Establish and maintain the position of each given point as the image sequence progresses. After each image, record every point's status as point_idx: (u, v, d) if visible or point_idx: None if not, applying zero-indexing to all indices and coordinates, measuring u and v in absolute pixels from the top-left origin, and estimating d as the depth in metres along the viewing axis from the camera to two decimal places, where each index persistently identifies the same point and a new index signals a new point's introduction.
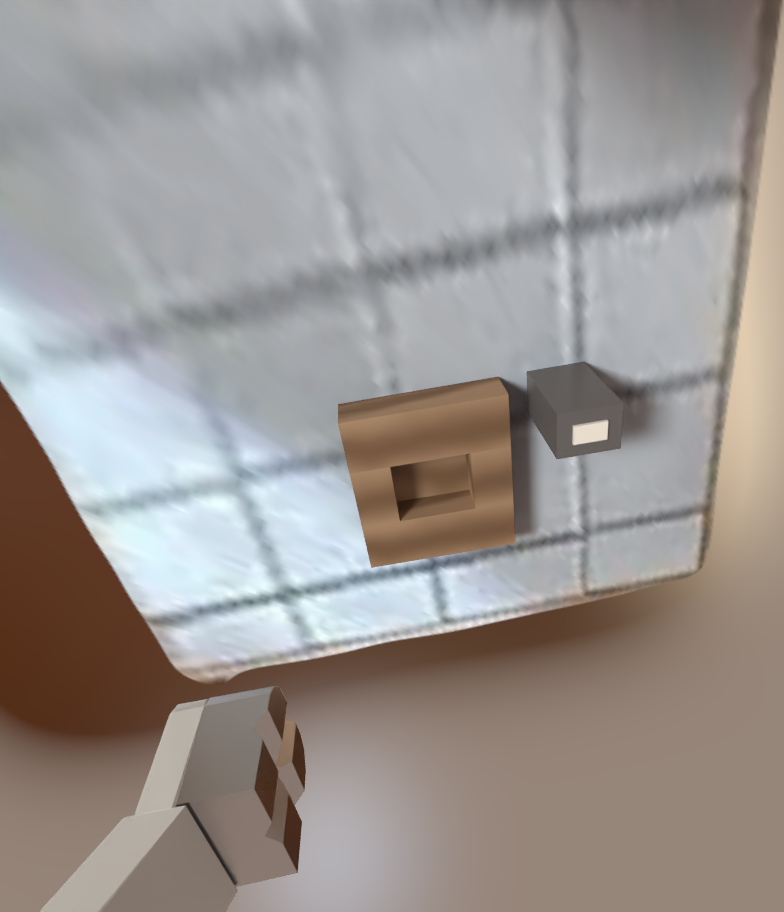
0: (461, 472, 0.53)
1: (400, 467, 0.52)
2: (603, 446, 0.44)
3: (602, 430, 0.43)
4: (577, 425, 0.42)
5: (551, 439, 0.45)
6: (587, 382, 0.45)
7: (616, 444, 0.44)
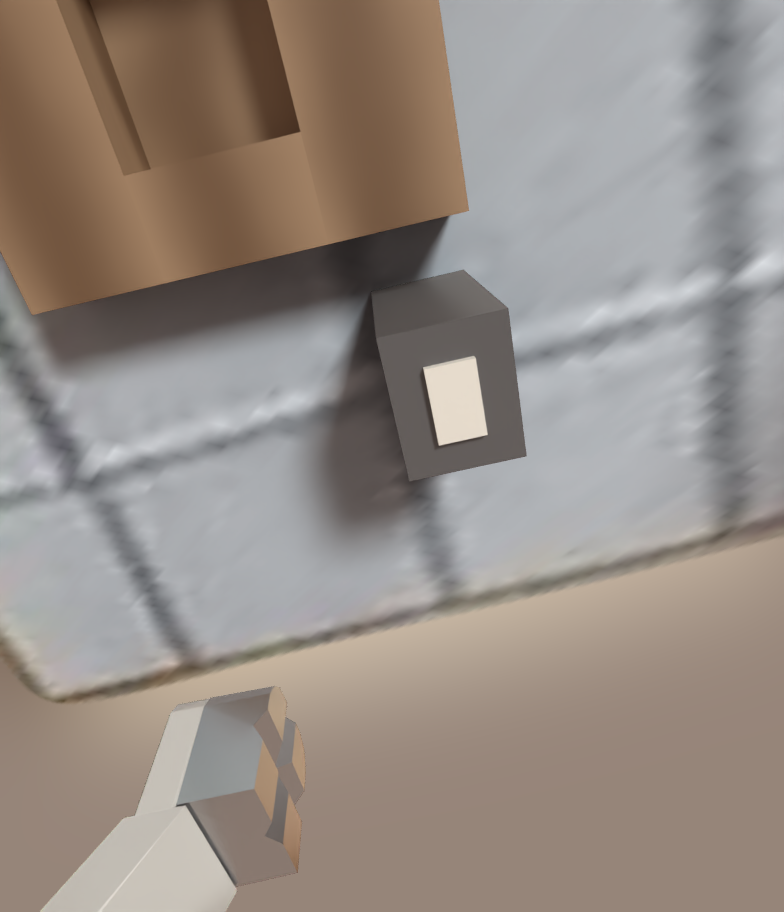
0: (202, 146, 0.21)
1: None
2: (414, 443, 0.18)
3: (464, 428, 0.18)
4: (476, 366, 0.17)
5: (406, 320, 0.18)
6: None
7: (420, 470, 0.19)
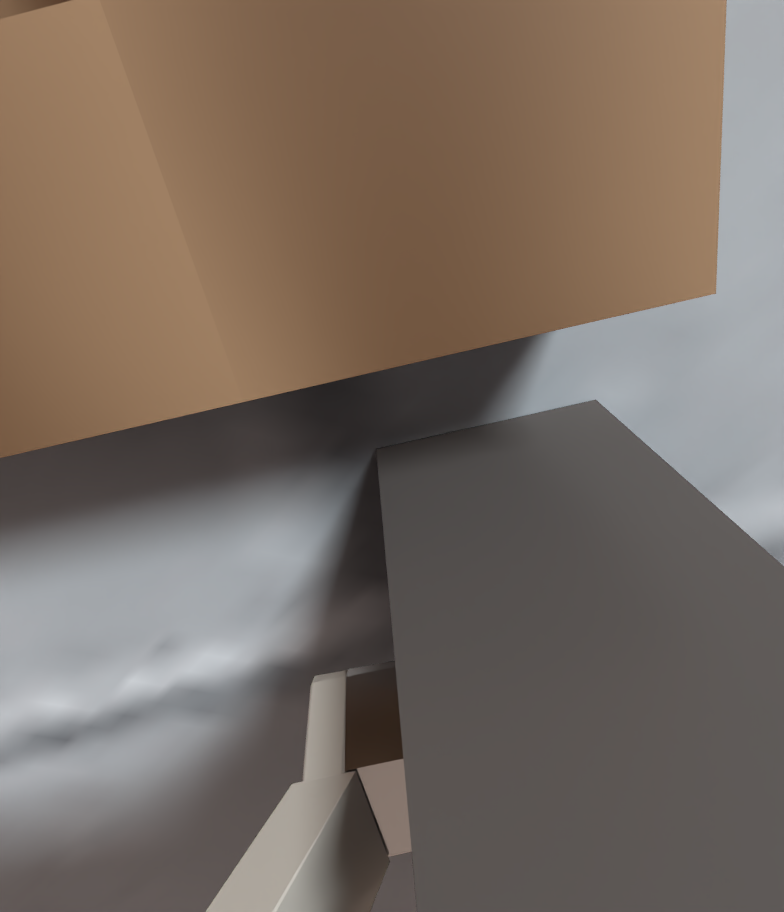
0: None
1: None
2: None
3: None
4: None
5: (549, 805, 0.04)
6: None
7: None
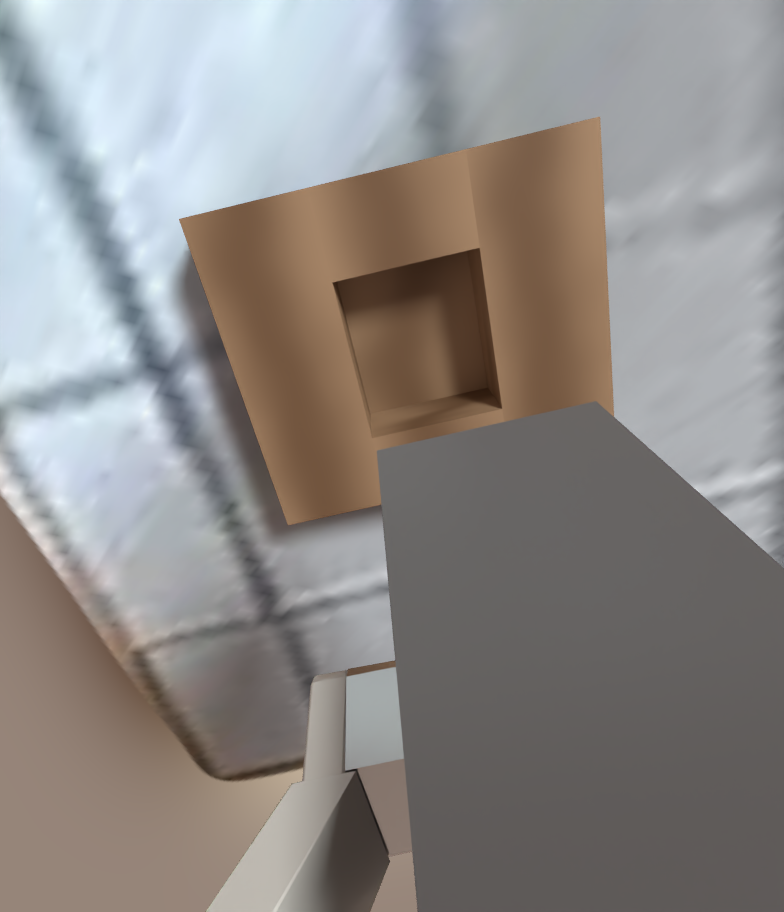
0: (409, 394, 0.28)
1: (421, 271, 0.26)
2: None
3: None
4: None
5: (549, 808, 0.04)
6: None
7: None
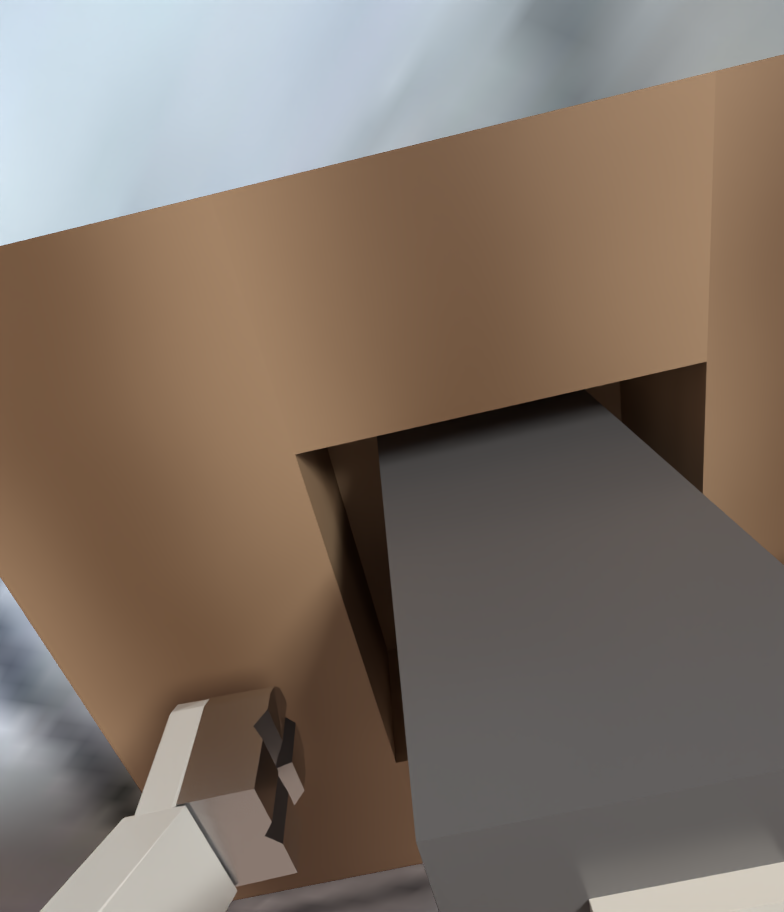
0: None
1: None
2: None
3: None
4: None
5: (511, 673, 0.05)
6: None
7: None
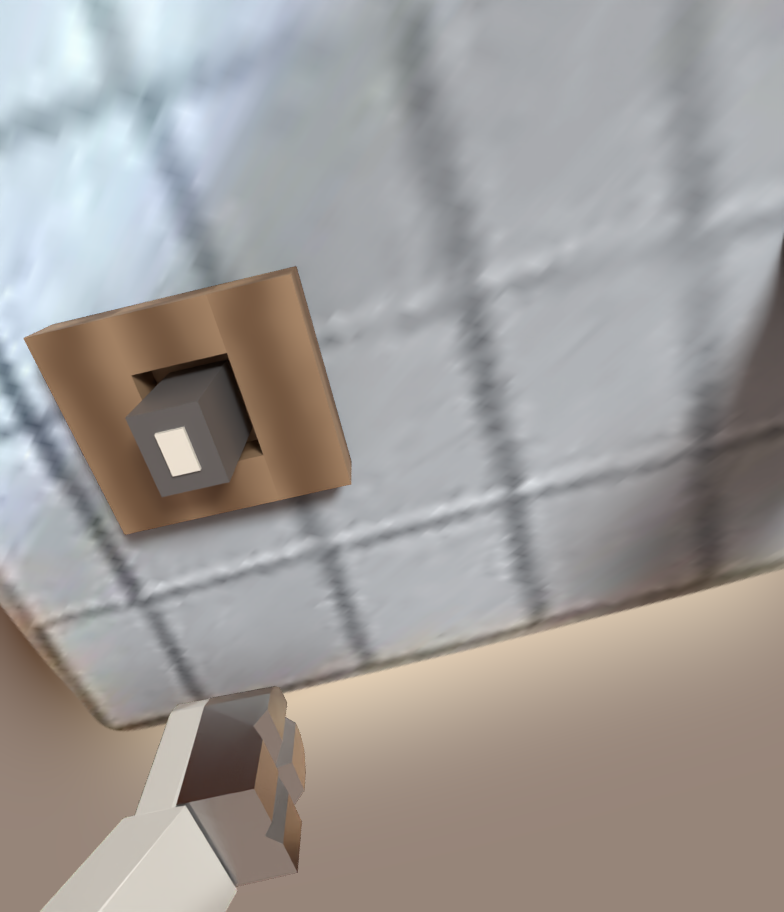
0: None
1: (208, 360, 0.37)
2: (159, 475, 0.32)
3: (185, 466, 0.31)
4: (185, 432, 0.30)
5: (151, 404, 0.31)
6: (236, 434, 0.35)
7: (166, 490, 0.32)
